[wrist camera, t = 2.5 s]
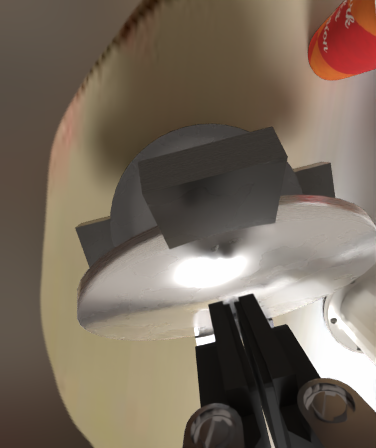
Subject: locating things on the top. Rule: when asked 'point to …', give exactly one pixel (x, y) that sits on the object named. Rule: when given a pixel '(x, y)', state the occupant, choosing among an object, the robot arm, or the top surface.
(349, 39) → the paper cup
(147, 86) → the top surface
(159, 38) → the top surface
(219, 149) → the cooker lid
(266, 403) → the robot arm
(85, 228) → the cooker pot
